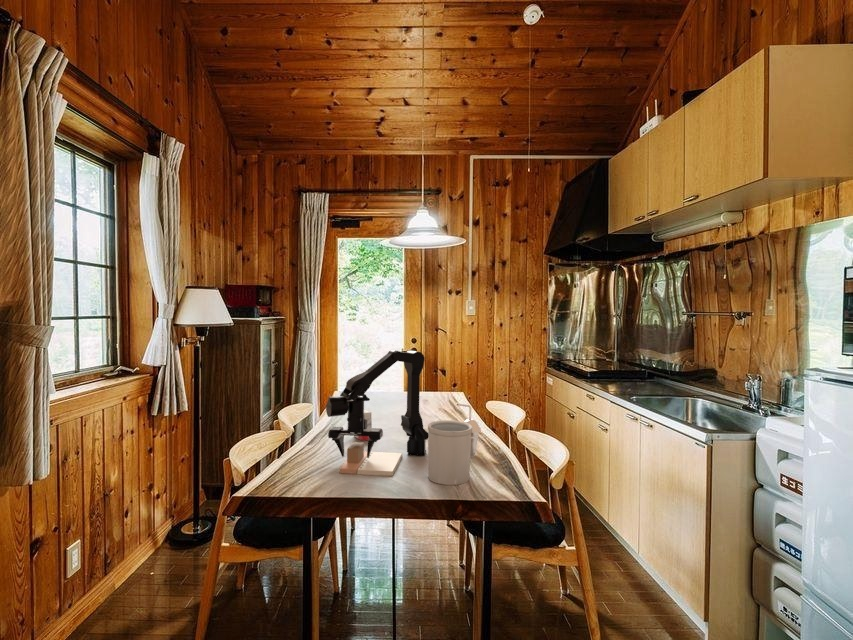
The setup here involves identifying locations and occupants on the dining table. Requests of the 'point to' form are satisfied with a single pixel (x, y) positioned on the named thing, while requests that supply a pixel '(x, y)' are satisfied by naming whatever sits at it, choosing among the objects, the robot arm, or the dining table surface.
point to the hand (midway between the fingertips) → (355, 456)
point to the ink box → (369, 425)
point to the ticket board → (380, 464)
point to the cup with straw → (474, 433)
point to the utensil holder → (449, 452)
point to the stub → (354, 458)
